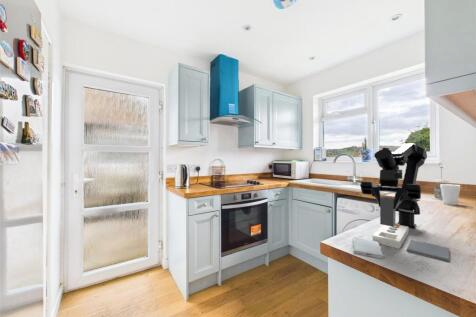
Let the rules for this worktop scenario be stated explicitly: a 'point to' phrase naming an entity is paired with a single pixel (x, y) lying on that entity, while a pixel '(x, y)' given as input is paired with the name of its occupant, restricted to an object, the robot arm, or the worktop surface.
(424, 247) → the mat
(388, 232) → the power strip
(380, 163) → the robot arm
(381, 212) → the block
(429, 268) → the worktop surface
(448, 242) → the worktop surface
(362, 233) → the worktop surface
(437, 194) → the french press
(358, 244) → the hard drive
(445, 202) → the foam cup
